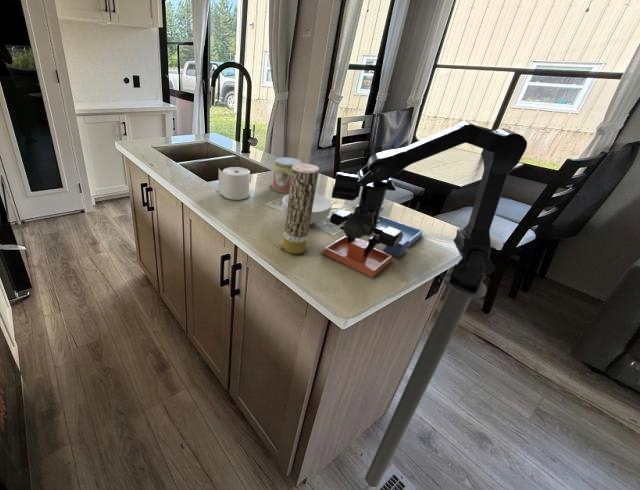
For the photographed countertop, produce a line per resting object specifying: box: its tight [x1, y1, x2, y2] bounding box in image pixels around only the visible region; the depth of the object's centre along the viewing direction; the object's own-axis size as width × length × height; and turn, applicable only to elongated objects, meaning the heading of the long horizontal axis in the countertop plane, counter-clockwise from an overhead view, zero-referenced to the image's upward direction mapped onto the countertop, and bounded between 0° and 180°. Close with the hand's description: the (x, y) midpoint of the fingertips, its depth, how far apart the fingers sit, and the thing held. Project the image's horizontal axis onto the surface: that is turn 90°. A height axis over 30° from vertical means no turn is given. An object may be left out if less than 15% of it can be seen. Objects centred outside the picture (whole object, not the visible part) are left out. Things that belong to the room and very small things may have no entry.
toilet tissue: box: [217, 166, 251, 201], centre depth 130 cm, size 11×12×10 cm
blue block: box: [383, 238, 409, 259], centre depth 97 cm, size 4×4×4 cm
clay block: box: [347, 238, 369, 262], centre depth 93 cm, size 4×4×4 cm
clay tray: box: [323, 235, 393, 278], centre depth 93 cm, size 15×11×2 cm
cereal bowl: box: [282, 193, 333, 225], centre depth 113 cm, size 17×17×7 cm
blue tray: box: [371, 214, 424, 248], centre depth 108 cm, size 15×11×2 cm
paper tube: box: [282, 162, 320, 255], centre depth 91 cm, size 7×7×25 cm
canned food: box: [271, 156, 303, 194], centre depth 138 cm, size 11×11×12 cm
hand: (358, 253), depth 93 cm, fingers closed on clay block, 4 cm apart
